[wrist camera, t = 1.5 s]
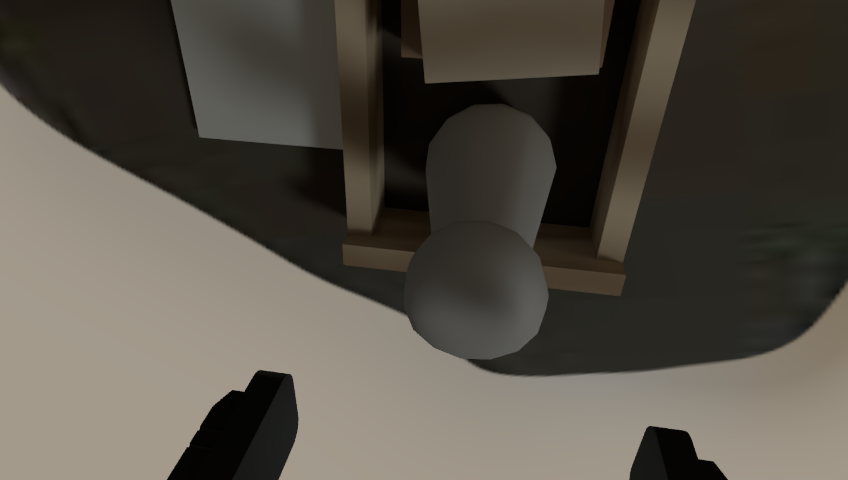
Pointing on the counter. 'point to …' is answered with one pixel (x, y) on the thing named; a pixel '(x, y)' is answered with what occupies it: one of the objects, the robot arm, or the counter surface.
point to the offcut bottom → (412, 33)
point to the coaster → (262, 70)
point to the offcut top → (509, 38)
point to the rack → (555, 244)
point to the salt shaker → (482, 234)
